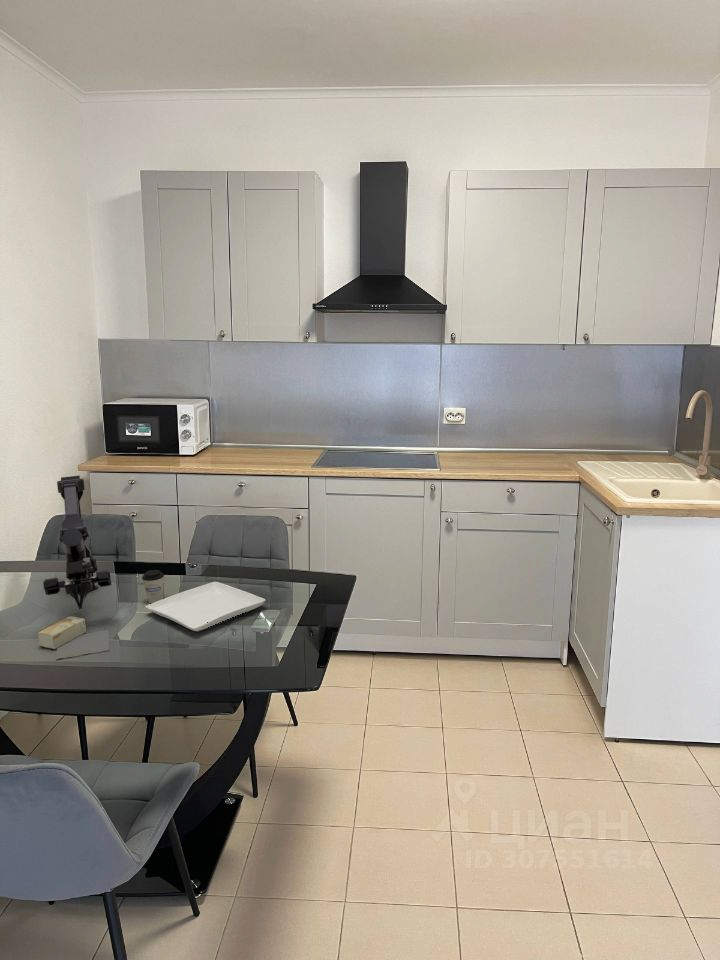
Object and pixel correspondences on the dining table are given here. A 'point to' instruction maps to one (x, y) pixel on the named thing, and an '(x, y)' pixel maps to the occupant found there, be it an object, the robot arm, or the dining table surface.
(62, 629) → the skincare box
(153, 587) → the coffee cup
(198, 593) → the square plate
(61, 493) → the robot arm
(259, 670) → the dining table surface
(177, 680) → the dining table surface
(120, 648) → the dining table surface
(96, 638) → the mat
